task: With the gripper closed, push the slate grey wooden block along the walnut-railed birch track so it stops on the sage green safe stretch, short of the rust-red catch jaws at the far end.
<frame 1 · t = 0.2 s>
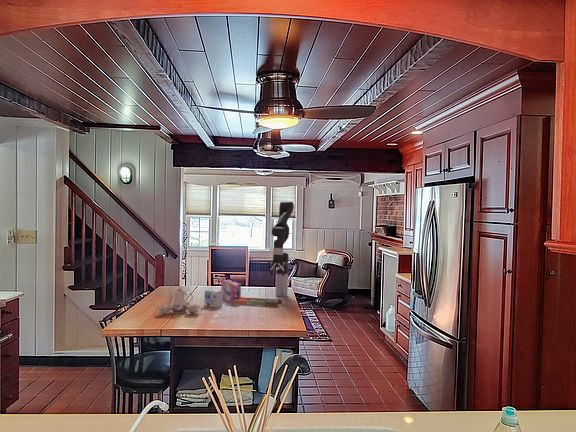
hand: (277, 275, 340), 17 cm above the table, tool pointing down, fingers open, 8 cm apart
slate block: (272, 305, 313), point 1 cm above the table, touching track
light bulb box: (213, 306, 313), on the table
track: (258, 305, 316), on the table
gum box: (230, 299, 335), on the table
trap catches: (243, 300, 319), point 2 cm above the table
chinaware: (179, 313, 288), on the table
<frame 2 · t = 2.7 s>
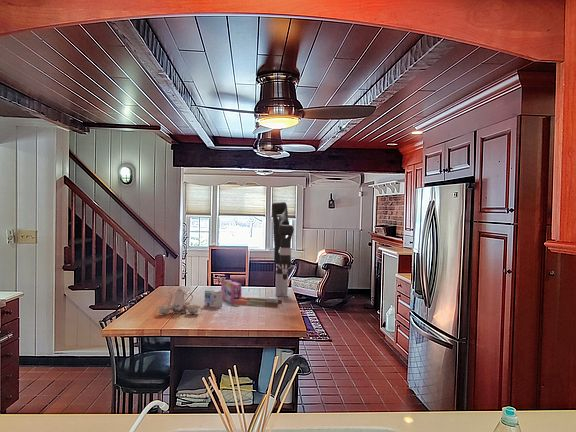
hand: (284, 279, 311), 19 cm above the table, tool pointing down, fingers closed
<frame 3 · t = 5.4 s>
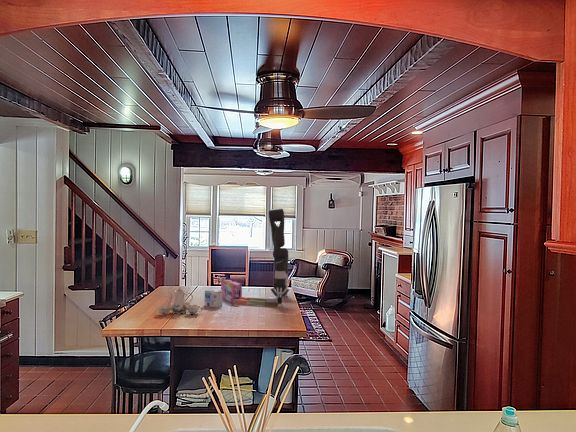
hand: (279, 302, 312), 3 cm above the table, tool pointing down, fingers closed
slate block: (272, 305, 313), point 1 cm above the table, touching gripper, track
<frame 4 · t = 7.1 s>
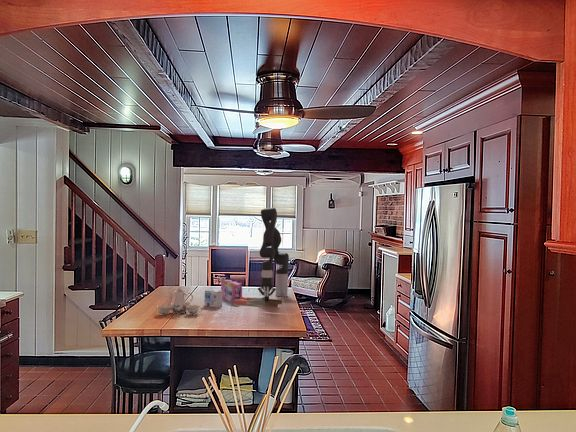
hand: (266, 301, 314), 3 cm above the table, tool pointing down, fingers closed
slate block: (259, 304, 315), point 1 cm above the table, touching gripper
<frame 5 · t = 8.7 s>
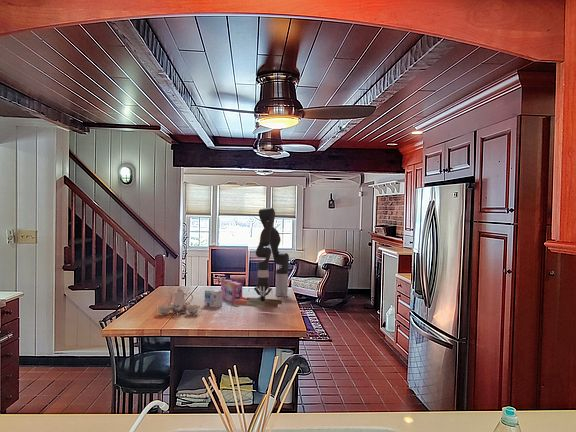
hand: (262, 301, 315), 3 cm above the table, tool pointing down, fingers closed
slate block: (255, 304, 316), point 1 cm above the table, touching gripper, track
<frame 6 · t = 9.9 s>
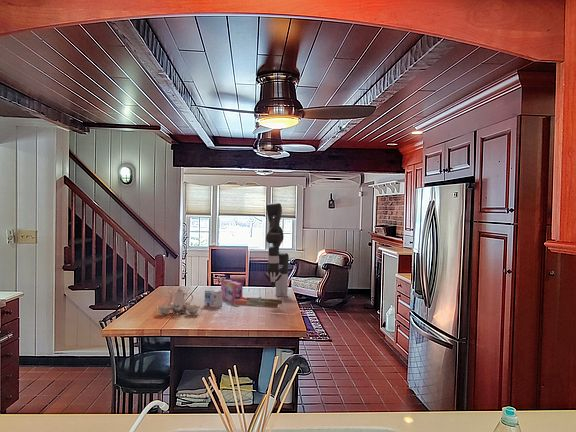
hand: (273, 287, 313), 13 cm above the table, tool pointing down, fingers closed
slate block: (255, 304, 316), point 1 cm above the table, touching track
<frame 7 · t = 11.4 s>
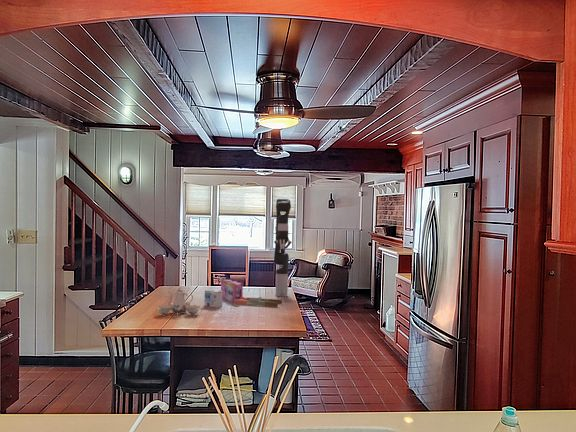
hand: (282, 254, 325), 35 cm above the table, tool pointing down, fingers closed
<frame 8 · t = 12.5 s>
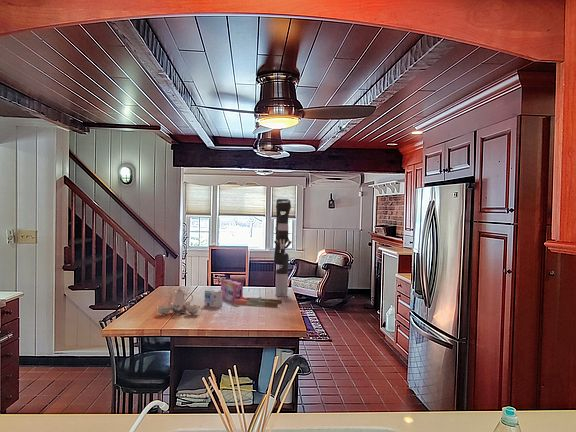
hand: (282, 254, 325), 35 cm above the table, tool pointing down, fingers closed
at the end: slate block inside the target area (0.6 cm from its centre), point 1.0 cm above the table; slate block touching track; slate block tilted 0° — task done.
